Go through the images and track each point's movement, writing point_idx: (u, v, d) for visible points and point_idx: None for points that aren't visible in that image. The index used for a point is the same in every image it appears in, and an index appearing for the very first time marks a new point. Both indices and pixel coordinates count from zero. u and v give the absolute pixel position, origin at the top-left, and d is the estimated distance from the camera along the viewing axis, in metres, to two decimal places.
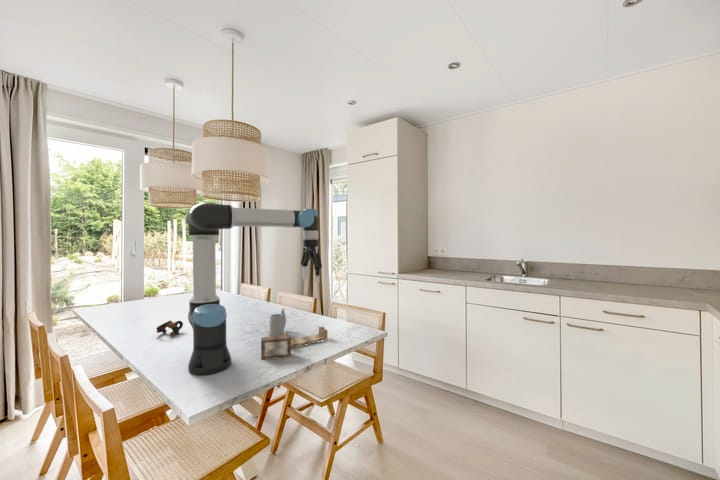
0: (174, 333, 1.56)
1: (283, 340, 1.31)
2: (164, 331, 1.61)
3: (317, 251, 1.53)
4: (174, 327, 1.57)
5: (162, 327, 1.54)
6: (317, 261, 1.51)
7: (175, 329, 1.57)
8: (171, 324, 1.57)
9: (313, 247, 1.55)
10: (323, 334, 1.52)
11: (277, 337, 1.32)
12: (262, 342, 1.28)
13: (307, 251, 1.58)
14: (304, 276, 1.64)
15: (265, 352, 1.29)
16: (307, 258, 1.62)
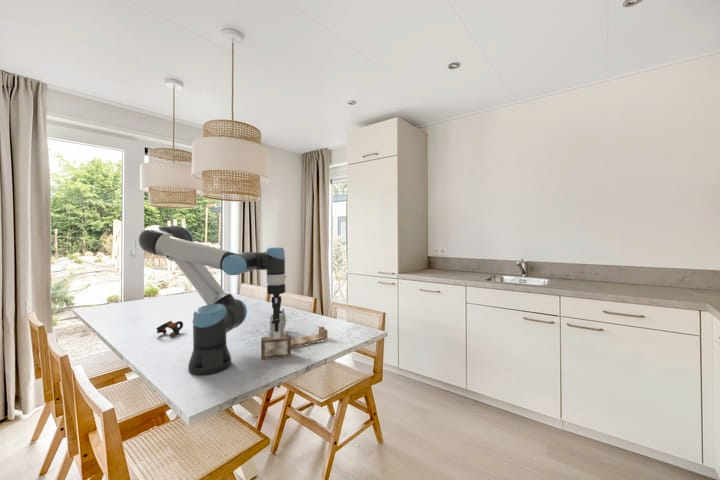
0: (174, 333, 1.55)
1: (283, 340, 1.31)
2: (164, 331, 1.60)
3: (277, 301, 1.25)
4: (174, 327, 1.56)
5: (162, 327, 1.54)
6: (274, 314, 1.23)
7: (175, 329, 1.57)
8: (171, 324, 1.56)
9: (275, 295, 1.28)
10: (323, 334, 1.52)
11: None
12: (262, 342, 1.28)
13: (272, 298, 1.32)
14: None
15: (265, 352, 1.29)
16: None
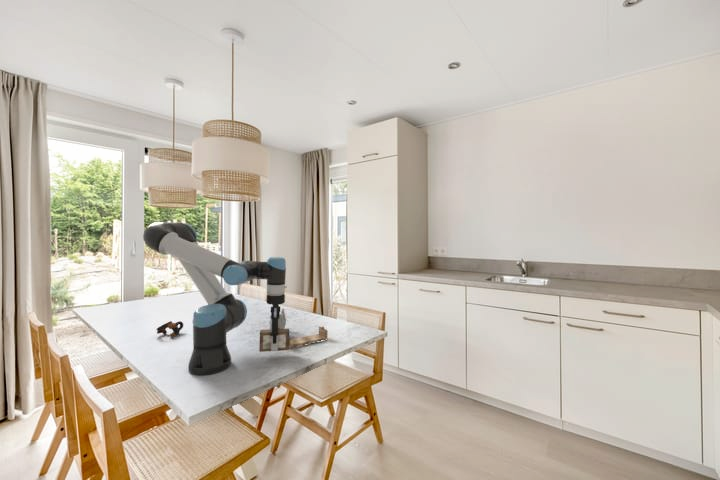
0: (175, 334, 1.55)
1: (282, 333, 1.31)
2: (164, 332, 1.59)
3: (276, 316, 1.25)
4: (175, 328, 1.56)
5: (162, 328, 1.53)
6: (273, 328, 1.26)
7: (176, 330, 1.56)
8: (172, 325, 1.56)
9: (274, 305, 1.28)
10: (323, 334, 1.52)
11: None
12: (261, 334, 1.29)
13: (271, 307, 1.32)
14: None
15: (263, 345, 1.29)
16: None
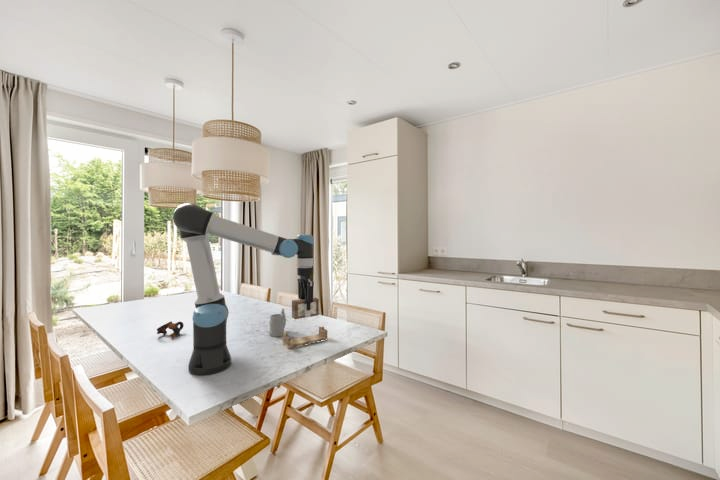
0: (175, 334, 1.54)
1: None
2: (164, 332, 1.59)
3: (311, 285, 1.42)
4: (175, 328, 1.55)
5: (163, 328, 1.53)
6: (309, 296, 1.42)
7: (176, 330, 1.56)
8: (172, 325, 1.55)
9: (308, 276, 1.44)
10: (323, 334, 1.52)
11: None
12: (296, 303, 1.43)
13: (301, 279, 1.47)
14: None
15: (298, 312, 1.44)
16: (303, 289, 1.49)
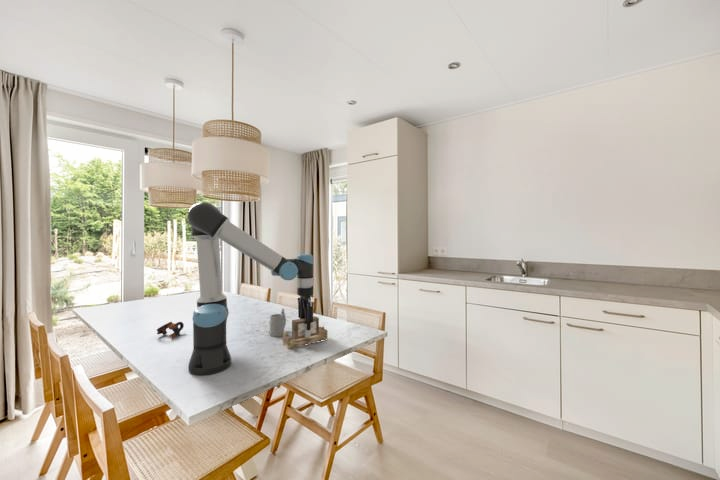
0: (175, 334, 1.54)
1: (313, 320, 1.48)
2: (164, 332, 1.58)
3: (311, 305, 1.43)
4: (175, 328, 1.55)
5: (163, 328, 1.52)
6: (309, 316, 1.43)
7: (176, 330, 1.55)
8: (172, 325, 1.55)
9: (308, 296, 1.44)
10: (323, 334, 1.52)
11: None
12: (296, 324, 1.43)
13: (301, 299, 1.47)
14: None
15: (298, 333, 1.44)
16: (303, 308, 1.49)
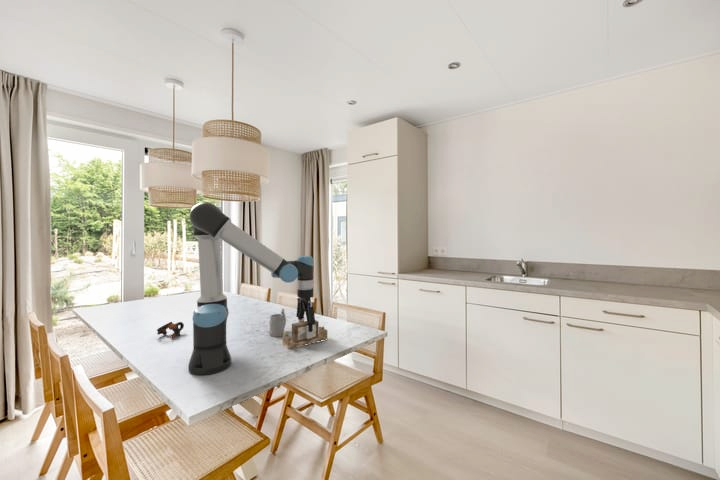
0: (175, 335, 1.54)
1: None
2: (164, 333, 1.58)
3: (312, 305, 1.42)
4: (175, 328, 1.55)
5: (163, 329, 1.52)
6: (311, 317, 1.41)
7: (176, 330, 1.55)
8: (172, 325, 1.55)
9: (308, 298, 1.44)
10: (323, 334, 1.52)
11: (306, 322, 1.48)
12: (296, 327, 1.43)
13: (301, 301, 1.47)
14: None
15: (298, 336, 1.44)
16: (302, 309, 1.50)
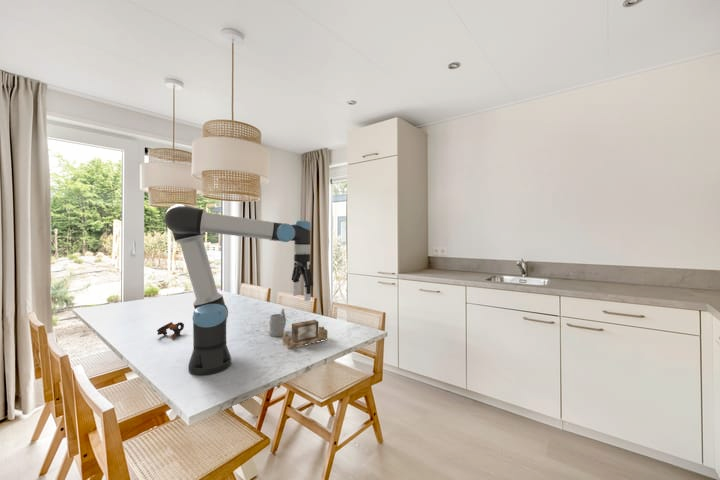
0: (176, 335, 1.53)
1: (312, 324, 1.48)
2: (165, 333, 1.57)
3: (308, 267, 1.41)
4: (175, 329, 1.54)
5: (163, 329, 1.51)
6: (308, 278, 1.39)
7: (176, 331, 1.55)
8: (172, 326, 1.54)
9: (304, 262, 1.44)
10: (323, 334, 1.52)
11: (306, 322, 1.48)
12: (296, 327, 1.43)
13: (298, 266, 1.47)
14: (295, 293, 1.52)
15: (298, 336, 1.44)
16: (298, 274, 1.50)
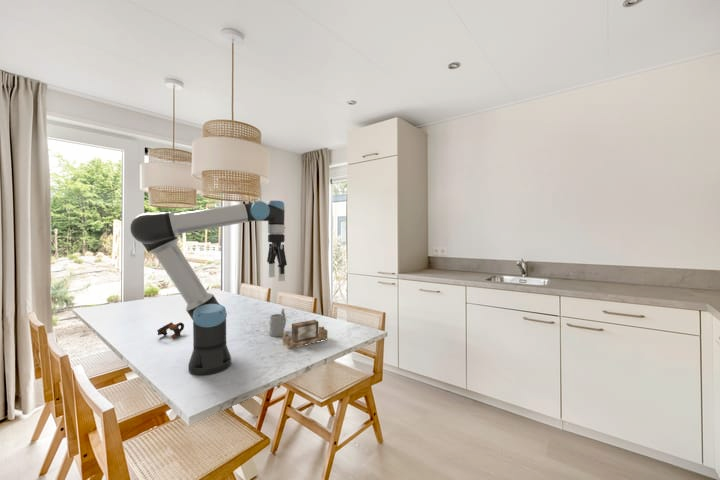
0: (176, 335, 1.53)
1: (312, 324, 1.48)
2: (165, 333, 1.57)
3: (282, 247, 1.40)
4: (176, 329, 1.54)
5: (163, 329, 1.51)
6: (281, 258, 1.38)
7: (177, 331, 1.54)
8: (173, 326, 1.54)
9: (278, 242, 1.42)
10: (323, 334, 1.52)
11: (306, 322, 1.48)
12: (296, 327, 1.43)
13: (272, 247, 1.45)
14: (270, 274, 1.50)
15: (298, 336, 1.44)
16: (273, 255, 1.48)
